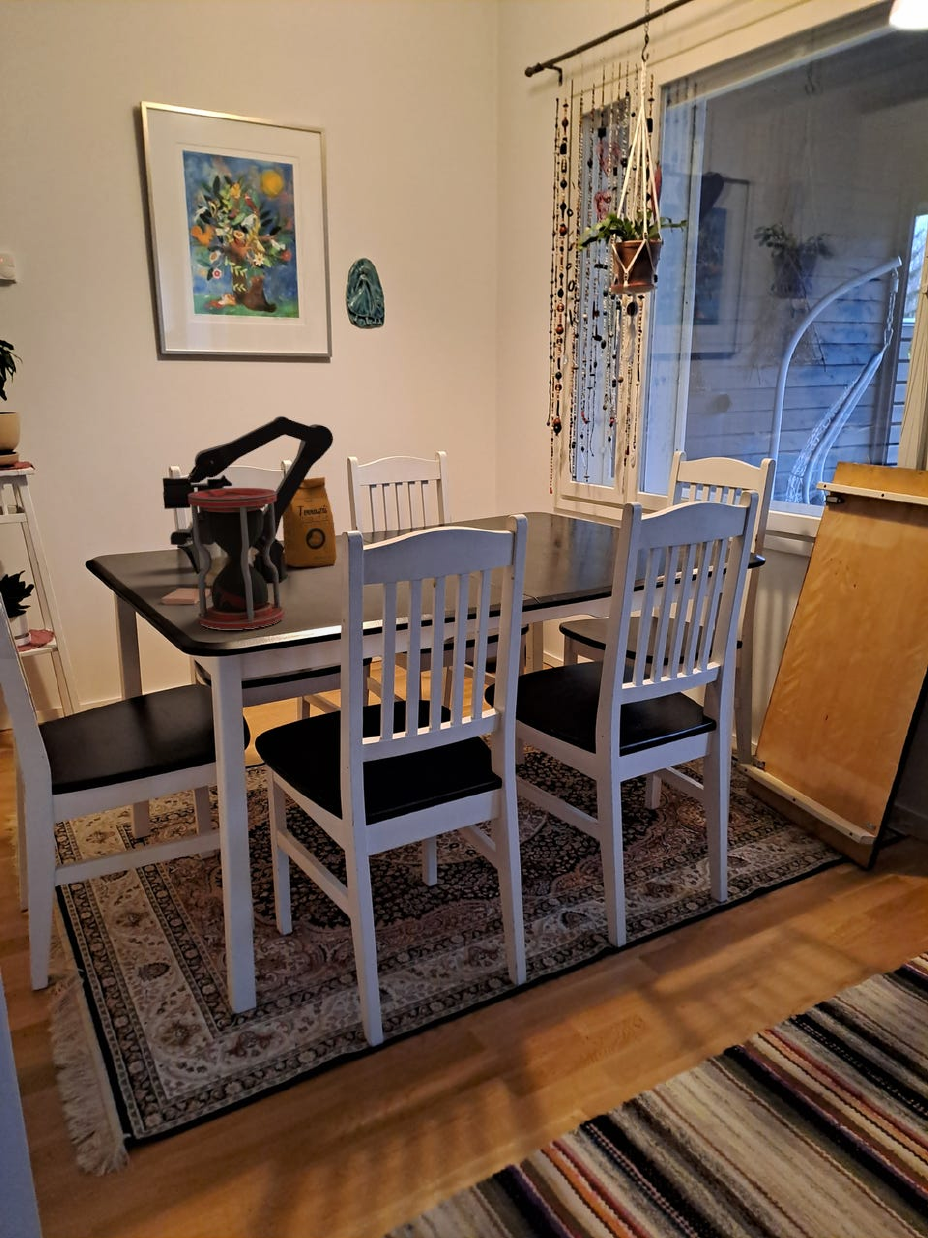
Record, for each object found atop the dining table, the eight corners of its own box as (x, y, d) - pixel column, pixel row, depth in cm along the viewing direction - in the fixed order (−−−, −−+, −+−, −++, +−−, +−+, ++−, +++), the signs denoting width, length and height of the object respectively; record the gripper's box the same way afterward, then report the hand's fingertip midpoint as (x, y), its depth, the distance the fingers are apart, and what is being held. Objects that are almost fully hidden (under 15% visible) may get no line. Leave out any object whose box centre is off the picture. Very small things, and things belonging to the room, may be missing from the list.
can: (184, 569, 212) (179, 521, 209) (206, 564, 218) (202, 517, 215) (207, 572, 209) (202, 523, 205) (228, 566, 215) (224, 519, 212)
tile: (209, 588, 187) (194, 599, 179) (210, 596, 188) (194, 606, 179) (178, 588, 188) (161, 598, 179) (179, 595, 188) (162, 606, 180)
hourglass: (270, 605, 178) (263, 485, 171) (294, 624, 164) (286, 494, 158) (191, 615, 171) (180, 490, 164) (209, 636, 157) (197, 500, 150)
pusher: (229, 582, 199) (227, 556, 198) (223, 586, 195) (221, 560, 194) (213, 581, 200) (211, 556, 198) (206, 585, 196) (204, 559, 194)
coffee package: (340, 566, 215) (336, 478, 210) (292, 571, 210) (286, 481, 204) (328, 559, 224) (324, 474, 218) (281, 563, 219) (276, 477, 213)
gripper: (156, 511, 186) (163, 581, 190) (240, 512, 184) (245, 583, 188) (177, 504, 196) (183, 570, 201) (256, 505, 195) (261, 572, 199)
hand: (217, 574), depth 197 cm, fingers open, 9 cm apart
